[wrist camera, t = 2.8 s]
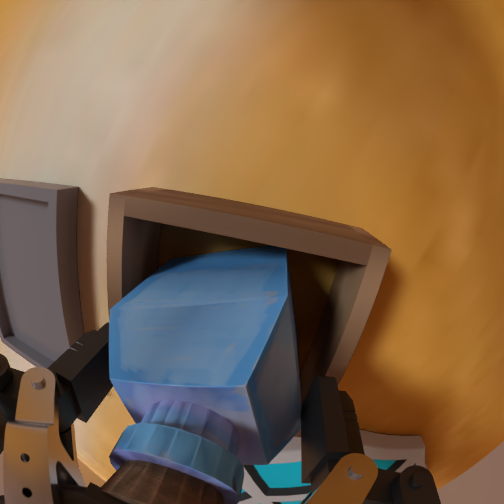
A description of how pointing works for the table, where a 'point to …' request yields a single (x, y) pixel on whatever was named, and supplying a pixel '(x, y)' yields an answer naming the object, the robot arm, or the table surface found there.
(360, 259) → the holder
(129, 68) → the table surface
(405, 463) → the decorative platform
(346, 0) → the table surface
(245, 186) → the table surface
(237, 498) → the perfume bottle
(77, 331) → the tray
